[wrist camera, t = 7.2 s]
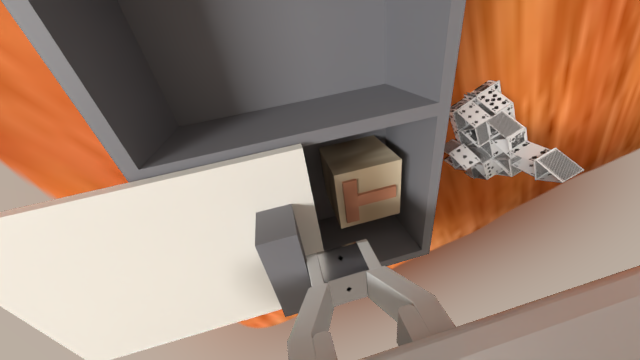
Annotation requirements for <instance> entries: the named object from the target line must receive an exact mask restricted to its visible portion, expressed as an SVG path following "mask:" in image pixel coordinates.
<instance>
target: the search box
mask: <svg viewBox="0 0 640 360" xmlns="http://www.w3.org/2000/svg"><path fill="white" fill-rule="evenodd" d="M1 1H2V3H3V4H4V5H5V7H6V8H7V10H8V11H9V13H10V14H11V15H12V17H13V18H14V20H15V21H16V22H17V24H18V25H19V27H20V28H21V30H22V31H23V32H24V34H25V35H26V37H27V38H28V40H29V41H30V42H31V44H32V45H33V47H34V48H35V50H36V51H37V52H38V54H39V55H40V57H41V58H42V60H43V61H44V62H45V64H46V65H47V67H48V68H49V70H50V71H51V72H52V74H53V75H54V77H55V78H56V79H57V81H58V82H59V84H60V85H61V87H62V88H63V89H64V91H65V92H66V94H67V95H68V97H69V98H70V99H71V101H72V102H73V104H74V105H75V107H76V108H77V109H78V111H79V112H80V114H81V115H82V117H83V118H84V119H85V121H86V122H87V124H88V125H89V126H90V128H91V129H92V131H93V132H94V134H95V135H96V136H97V138H98V139H99V141H100V142H101V144H102V145H103V146H104V148H105V149H106V151H107V152H108V154H109V155H110V156H111V158H112V159H113V161H114V162H115V164H116V165H117V166H118V168H119V169H120V171H121V172H122V173H123V175H124V176H125V178H126V179H127V181H128V182H134V181H138V180H142V179H147V178H151V177H156V176H160V175H164V174H169V173H173V172H178V171H182V170H186V169H191V168H195V167H199V166H204V165H208V164H213V163H217V162H221V161H226V160H230V159H235V158H239V157H243V156H248V155H252V154H257V153H261V152H265V151H270V150H274V149H279V148H283V147H287V146H292V145H296V144H300V143H301V145H302V148H303V153H304V158H305V162H306V167H307V172H308V177H309V181H310V186H311V191H312V196H313V201H314V205H315V210H316V215H317V220H318V225H319V229H320V234H321V239H322V244H323V249H324V251H325V250H329V249H333V248H335V247H339V246H342V245H345V244H349V243H352V242H356V241H360V240H363V239H367V240H368V242H369V244H370V246H371V248H372V250H373V251H374V253H375V255H376V257H377V259H378V261H379V262H380V264H381V266H389V265H392V264H396V263H399V262H402V261H406V260H409V259H413V258H416V257H420V256H423V255H426V254H429V252H430V245H431V238H432V231H433V224H434V217H435V210H436V203H437V196H438V190H439V183H440V176H441V169H442V162H443V155H444V148H445V141H446V134H447V128H448V121H449V114H450V107H451V100H452V93H453V86H454V79H455V72H456V65H457V59H458V52H459V45H460V38H461V31H462V24H463V17H464V10H465V3H466V0H1ZM372 135H374V136H375V137H376V138H378V139H379V140H380V141H381V142H382V143H383V144H385V145H386V146H387V147H388V148H389V149H390V150H392V151H393V152H394V153H395V154H396V155H398V156H399V157H400V158H401V159H402V170H401V195H400V213H398V214H394V215H390V216H387V217H383V218H379V219H376V220H372V221H368V222H364V223H361V224H357V225H353V226H350V227H346V228H342V229H341V227H340V225H339V222H338V220H337V217H336V215H335V213H334V210H333V208H332V206H331V203H330V201H329V199H328V196H327V193H326V187H325V181H324V175H323V170H322V164H321V158H320V152H319V148H320V147H324V146H329V145H333V144H337V143H342V142H346V141H350V140H355V139H359V138H363V137H368V136H372Z"/></svg>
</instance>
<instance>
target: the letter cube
mask: <svg viewBox="0 0 640 360" xmlns="http://www.w3.org/2000/svg"><path fill="white" fill-rule="evenodd" d="M319 152H320V158H321V164H322V170H323V175H324V181H325V187H326V193H327V196H328V199H329V201H330V203H331V206H332V208H333V210H334V213H335V215H336V217H337V220H338V222H339V225H340V227H341V229H342V228H346V227H350V226H353V225H357V224H361V223H364V222H368V221H372V220H376V219H379V218H383V217H387V216H390V215H394V214H398V213H400V195H401V170H402V159H401V158H400V157H399V156H398V155H396V154H395V153H394V152H393V151H392V150H390V149H389V148H388V147H387V146H386V145H385V144H383V143H382V142H381V141H380V140H379V139H378V138H376V137H375V136H374V135H372V136H368V137H363V138H359V139H355V140H350V141H346V142H342V143H337V144H333V145H329V146H324V147H320V148H319Z"/></svg>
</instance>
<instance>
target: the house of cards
mask: <svg viewBox="0 0 640 360" xmlns="http://www.w3.org/2000/svg"><path fill="white" fill-rule="evenodd" d="M464 97H465V98H463V99H462V100H460V101H459V102H457V103H456V104H454V105H453V106H451V107H450V114H449V118H450V121H451V125H452V128H453V131H454V134H455V138H456V141H455V140H453V139H452V140H450V141H448V142H447V143H445V148H444V152H445V153H447V154H448V155H450V156H449V157H447V158H446V159H444V161H445V162H447V163H448V164H450V165H451V166H453V167H454V168H455V169H457V170H466V172H464V173H465V174H467V175H468V176H470V177H471V178H472V177H473V178H474V179H475V178H480V179H486V180H488V179H489V178H491V177H493V176H494V175H504V176H510V177H513V176H514V175H516V174H518V173H519V172H521V171H523V172H525V173H527V174H529V175H531V176H533V177H535V181H536V180H542V181H551V182H559V183H563V182H565V181H566V180H568V179H570V178H572V177H573V176H575V175H577V174H578V173H580V172H582V171H584V169H583V168H582V167H580V166H579V165H578V164H576V163H575V162H574V161H573V160H571V159H570V158H569V157H567V156H566V155H565V154H563V153H562V152H561V151H560V150H558V149H557V148H554V149H552V150H550V149H548V148H545V147H542V146H540V145H537V144H535V143H532V142H529V141H528V140H527V129H526V127H524V126H523V125H522V124H520V123H519V122H518V121H516V120H515V112H514V104H513V102H512V101H510V100H509V99H508V98H506V97H505V96H504V95H502V94H501V87H500V80H499V81H492V80H489V81H487V82H486V83H484V84H483V85H481V86H480V87H478V88H477V89H475V90H474V91H472V92H471V93H468V92H467V95H465V94H464Z"/></svg>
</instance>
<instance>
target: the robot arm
mask: <svg viewBox="0 0 640 360" xmlns="http://www.w3.org/2000/svg"><path fill="white" fill-rule="evenodd" d="M306 262H307V266H308V271H309V276H310V281H311V286H312V287H310V288H308V291H307V293H306V296H305V298H304V301H303V303H302V306H301V308H300V311H299V313H298V316H297V318H296V321H295V323H294V326H293V328H292V331H291V333H290V336H289V338H288V341H287V346H288V358H289V360H337V356H336V352H335V349H334V344H333V341H332V337H331V333H330V332H328V331H329V327H330V323H331V319H332V314H333V310H334V307H336V306H339V305H341V304H344V303H347V302H350V301H354V300H358V299H361V298H365V297H369V298H370V299H371V300H372V301H373V302H374V303H375V304H377V305H378V306H379V307H380V308H381V309H382V310H384V311H385V312H386V313H387V314H388V315H389V316H391V317H392V318H393V319H394V320H395V321H396V322H397V344H398V347H395V348H392V349H389V350H387V351H383V352H380V353H377V354H375V355H371V356H369V357H365V358H362V359H360V360H640V266H637V267H634V268H631V269H628V270H625V271H622V272H619V273H616V274H613V275H610V276H607V277H604V278H601V279H598V280H595V281H592V282H589V283H586V284H583V285H580V286H577V287H574V288H571V289H568V290H565V291H562V292H559V293H556V294H553V295H550V296H547V297H544V298H541V299H538V300H536V301H533V302H529V303H526V304H524V305H520V306H517V307H515V308H512V309H509V310H506V311H503V312H500V313H497V314H494V315H491V316H488V317H485V318H482V319H479V320H476V321H473V322H470V323H467V324H464V325H461V326H458V327H456V326H455V325H454V323H453V322H452V320H451V319H450V318H449V316H448V314H447V313H446V311H445V310H444V309H443V307H442V306H441V304H440V303H439V301H438V300H437V298H436V297H435V295H433V294H431V293H430V292H428V291H426V290H425V289H423V288H421V287H420V286H418V285H416V284H415V283H413V282H411V281H410V280H408V279H406V278H405V277H403V276H401V275H400V274H398V273H396V272H395V271H393V270H391V269H390V268H388V267H386V266H381V264H380V262H379V261H378V259H377V257H376V255H375V253H374V251H373V250H372V248H371V246H370V244H369V242H368V240H367V239H363V240H360V241H356V242H352V243H349V244H345V245H342V246H339V247H335V248H333V249H329V250H325V251H321V252H317V254H316V253H314V254H310V255H306Z"/></svg>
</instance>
